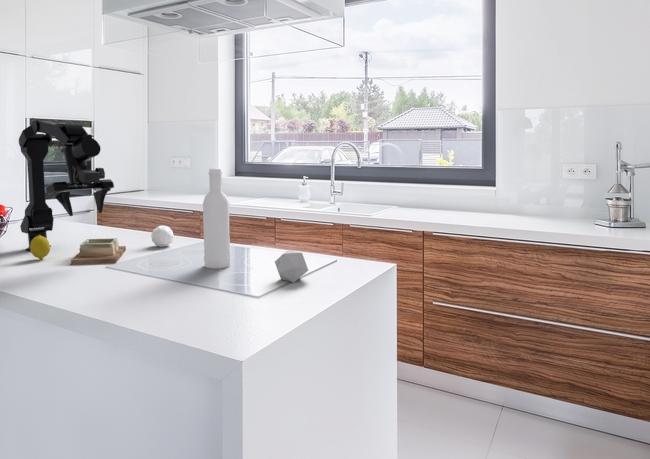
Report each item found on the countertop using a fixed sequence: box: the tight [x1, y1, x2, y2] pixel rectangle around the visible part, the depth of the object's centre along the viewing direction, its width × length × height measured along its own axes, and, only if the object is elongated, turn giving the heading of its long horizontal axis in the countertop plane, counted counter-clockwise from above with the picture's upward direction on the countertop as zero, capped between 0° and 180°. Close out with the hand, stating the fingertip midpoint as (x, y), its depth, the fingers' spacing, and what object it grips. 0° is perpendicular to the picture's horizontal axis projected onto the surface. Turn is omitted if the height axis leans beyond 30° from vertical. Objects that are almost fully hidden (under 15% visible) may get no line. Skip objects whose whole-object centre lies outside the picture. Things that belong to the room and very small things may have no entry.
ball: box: [150, 225, 174, 248], centre depth 189 cm, size 8×8×8 cm
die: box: [274, 249, 309, 283], centre depth 145 cm, size 8×9×10 cm
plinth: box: [70, 237, 127, 266], centre depth 171 cm, size 20×13×5 cm, turn 12°
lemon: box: [29, 235, 51, 261], centre depth 166 cm, size 6×6×8 cm
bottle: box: [202, 167, 231, 270], centre depth 158 cm, size 8×8×30 cm
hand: (86, 214), depth 159 cm, fingers open, 9 cm apart
